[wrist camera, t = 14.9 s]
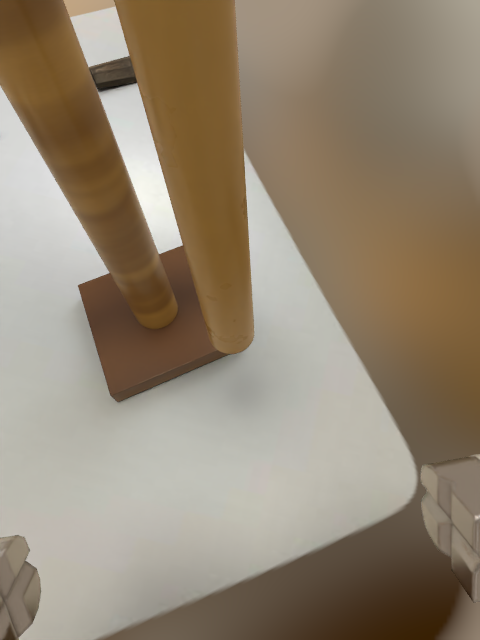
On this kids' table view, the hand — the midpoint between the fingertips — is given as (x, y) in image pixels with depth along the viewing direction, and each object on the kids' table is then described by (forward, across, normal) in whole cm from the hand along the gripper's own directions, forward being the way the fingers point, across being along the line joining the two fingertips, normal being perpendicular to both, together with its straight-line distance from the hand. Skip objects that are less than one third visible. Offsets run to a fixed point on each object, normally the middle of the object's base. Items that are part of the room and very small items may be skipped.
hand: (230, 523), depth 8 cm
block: (+48, +7, -22) cm, 53 cm away
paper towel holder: (+24, +4, +2) cm, 25 cm away
